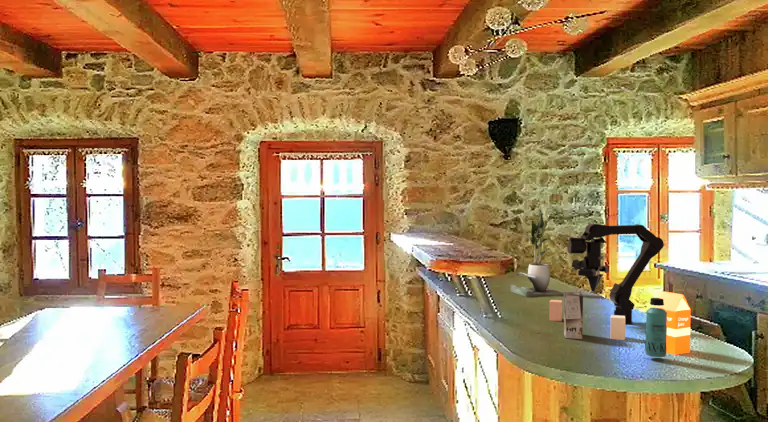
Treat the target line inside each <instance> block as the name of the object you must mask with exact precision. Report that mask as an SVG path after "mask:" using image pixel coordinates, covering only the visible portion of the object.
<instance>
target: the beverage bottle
mask: <svg viewBox="0 0 768 422" xmlns="http://www.w3.org/2000/svg"><path fill="white" fill-rule="evenodd" d="M649 304H650V305H651V306H655V305H656V306H663V305H664V300H663V299H662V298H659V297H651V298H650V301H649ZM645 314H646V321H645V322H646V325H645V340H644V349H645V350H644V351H645V352H644V353H645V355H646V356H649V357H653V358H664V357H667V354H668V353H667V352H666V350H667V348H666V338H667V312H666V311H665V310H664V309H662V308H654V307H650V308H648V309H646V313H645Z"/></svg>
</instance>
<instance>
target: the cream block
mask: <svg viewBox="0 0 768 422" xmlns="http://www.w3.org/2000/svg"><path fill="white" fill-rule="evenodd" d="M609 330H610V331H609V333H610V336H609V338H610V340H620V341H625V340H626V324H625V316H619V315H614V314H610V329H609Z"/></svg>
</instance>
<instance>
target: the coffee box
mask: <svg viewBox="0 0 768 422" xmlns="http://www.w3.org/2000/svg"><path fill="white" fill-rule="evenodd" d="M563 293H564V296H563V334H564V335H563V336H564V337H565V339H576V340H577V339H578V340H582V339H583V332H584V331H583V329H584V328H583V324H584V322H583V321H584V320H583V318H584V316H583V315H584V312H583V311H584V295H583V293H582V292H581V291H569V292H567V291H564V292H563Z"/></svg>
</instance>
